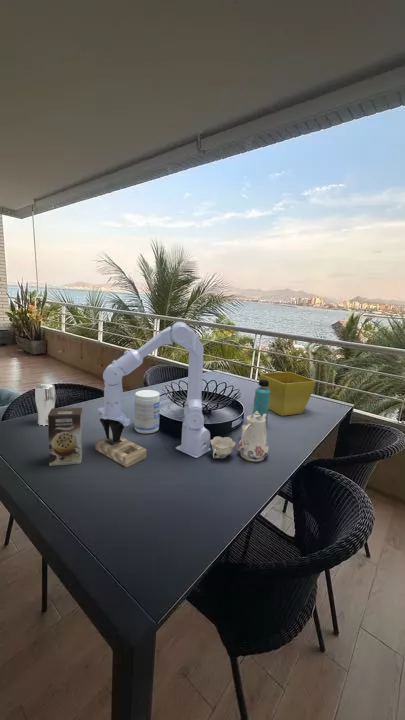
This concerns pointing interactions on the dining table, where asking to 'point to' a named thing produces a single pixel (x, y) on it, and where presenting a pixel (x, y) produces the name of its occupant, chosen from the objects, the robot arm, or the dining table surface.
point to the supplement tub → (147, 411)
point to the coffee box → (65, 436)
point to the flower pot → (288, 392)
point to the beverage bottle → (262, 399)
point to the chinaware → (245, 440)
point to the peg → (111, 437)
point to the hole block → (122, 451)
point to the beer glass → (44, 401)
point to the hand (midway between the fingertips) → (113, 439)
